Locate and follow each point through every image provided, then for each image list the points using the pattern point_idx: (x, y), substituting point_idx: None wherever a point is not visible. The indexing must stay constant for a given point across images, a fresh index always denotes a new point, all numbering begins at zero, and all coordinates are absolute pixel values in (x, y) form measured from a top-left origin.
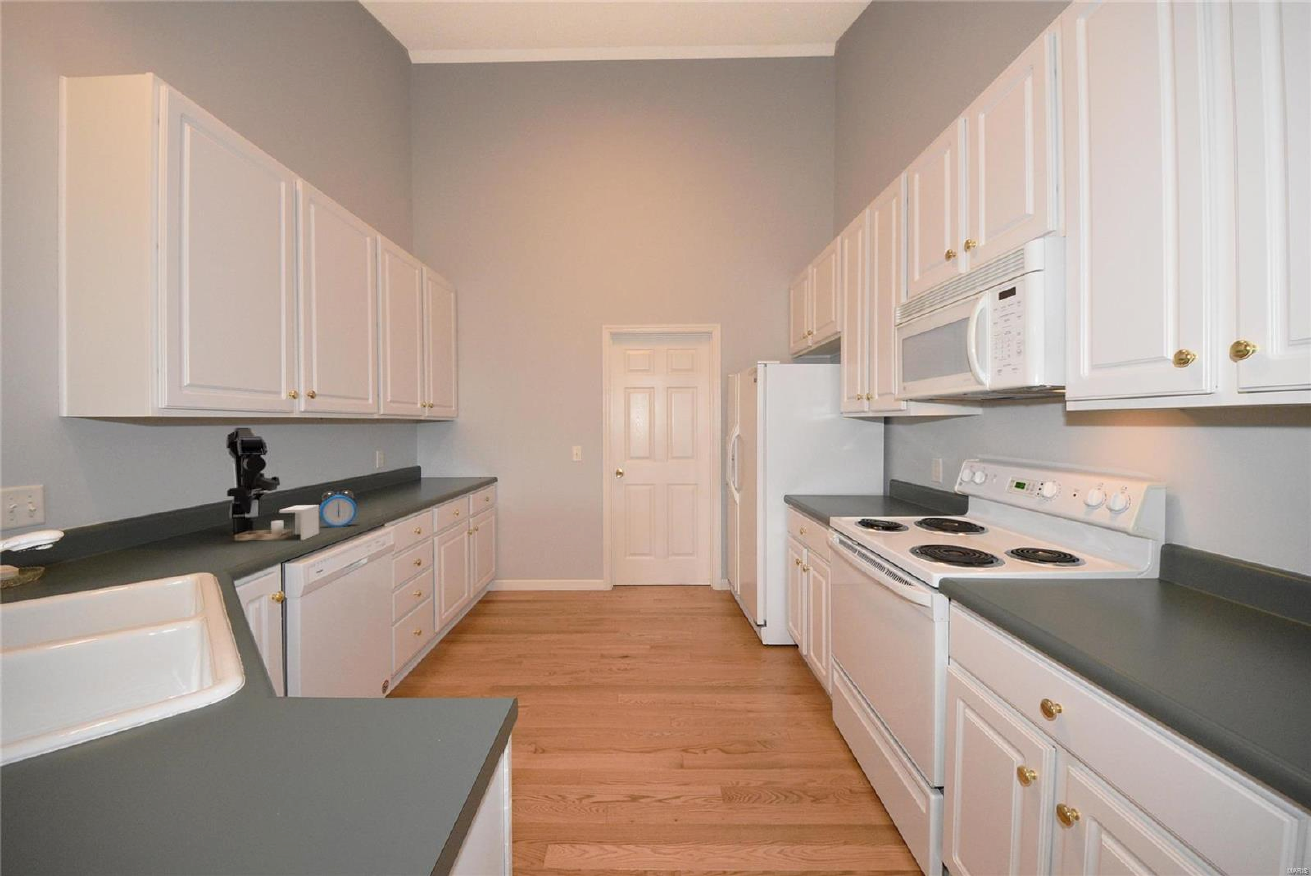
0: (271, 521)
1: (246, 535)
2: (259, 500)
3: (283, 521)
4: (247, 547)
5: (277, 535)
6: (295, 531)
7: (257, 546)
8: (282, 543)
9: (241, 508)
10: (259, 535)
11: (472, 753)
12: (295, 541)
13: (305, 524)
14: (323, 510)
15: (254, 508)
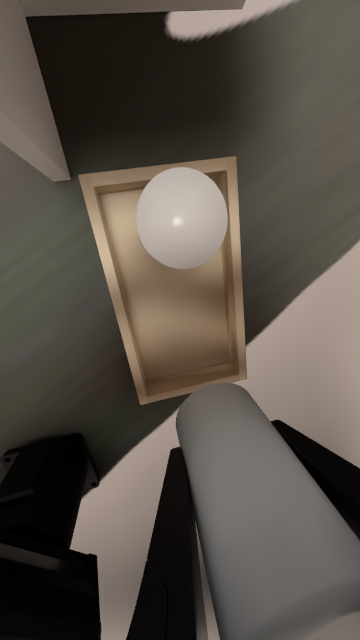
0: (204, 258)
1: (243, 335)
2: (172, 616)
3: (159, 175)
4: (343, 236)
5: (232, 181)
6: (61, 169)
7: (332, 204)
8: (285, 111)
9: (68, 624)
10: (239, 279)
11: None
12: (238, 55)
13: None
14: None
15: (279, 443)
